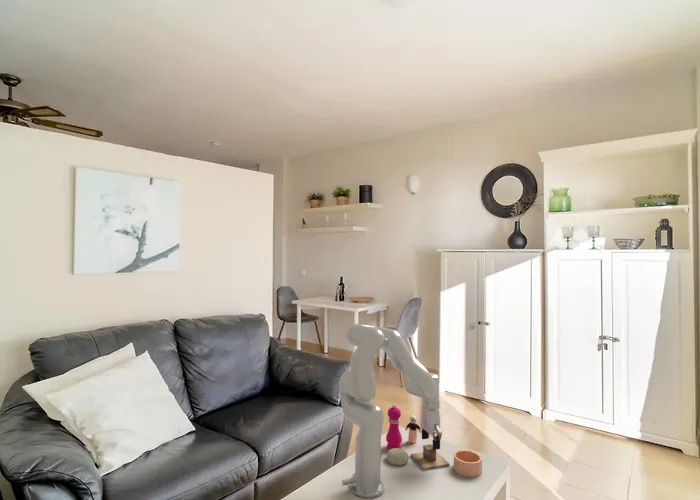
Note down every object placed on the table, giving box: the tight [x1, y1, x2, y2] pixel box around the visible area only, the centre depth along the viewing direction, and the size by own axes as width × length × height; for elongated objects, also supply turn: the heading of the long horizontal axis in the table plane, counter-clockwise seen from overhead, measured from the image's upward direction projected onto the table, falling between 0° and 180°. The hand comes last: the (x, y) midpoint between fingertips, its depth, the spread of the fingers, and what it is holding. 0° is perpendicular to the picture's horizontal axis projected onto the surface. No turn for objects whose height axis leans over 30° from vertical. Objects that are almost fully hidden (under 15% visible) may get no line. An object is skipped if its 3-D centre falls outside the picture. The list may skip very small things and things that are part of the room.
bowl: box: [453, 449, 483, 478], centre depth 163 cm, size 11×11×6 cm
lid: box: [410, 443, 450, 471], centre depth 170 cm, size 12×12×6 cm
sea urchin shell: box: [386, 448, 410, 466], centre depth 170 cm, size 9×8×8 cm
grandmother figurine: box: [404, 415, 422, 445], centre depth 187 cm, size 8×4×13 cm, turn 81°
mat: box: [408, 455, 452, 472], centre depth 169 cm, size 13×13×1 cm
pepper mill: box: [385, 403, 403, 451], centre depth 181 cm, size 7×7×20 cm
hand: (430, 443), depth 170 cm, fingers open, 9 cm apart
